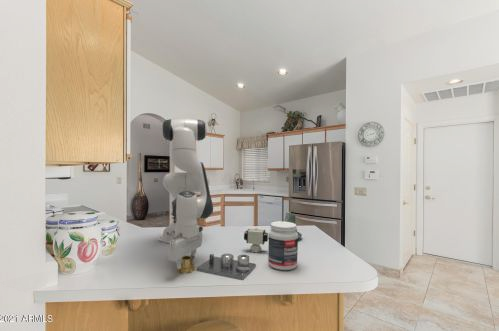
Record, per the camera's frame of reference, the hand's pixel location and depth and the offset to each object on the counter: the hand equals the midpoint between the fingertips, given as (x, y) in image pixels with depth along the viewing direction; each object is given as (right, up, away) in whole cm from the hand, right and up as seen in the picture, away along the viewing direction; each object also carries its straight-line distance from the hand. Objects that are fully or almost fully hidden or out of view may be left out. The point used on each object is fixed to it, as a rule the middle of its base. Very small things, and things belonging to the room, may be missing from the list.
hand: (186, 263), depth 106 cm
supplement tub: (+41, -4, +6) cm, 42 cm away
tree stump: (+48, -3, +47) cm, 67 cm away
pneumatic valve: (+30, -3, +24) cm, 38 cm away
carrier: (+17, -3, +2) cm, 17 cm away
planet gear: (0, -3, 0) cm, 3 cm away
